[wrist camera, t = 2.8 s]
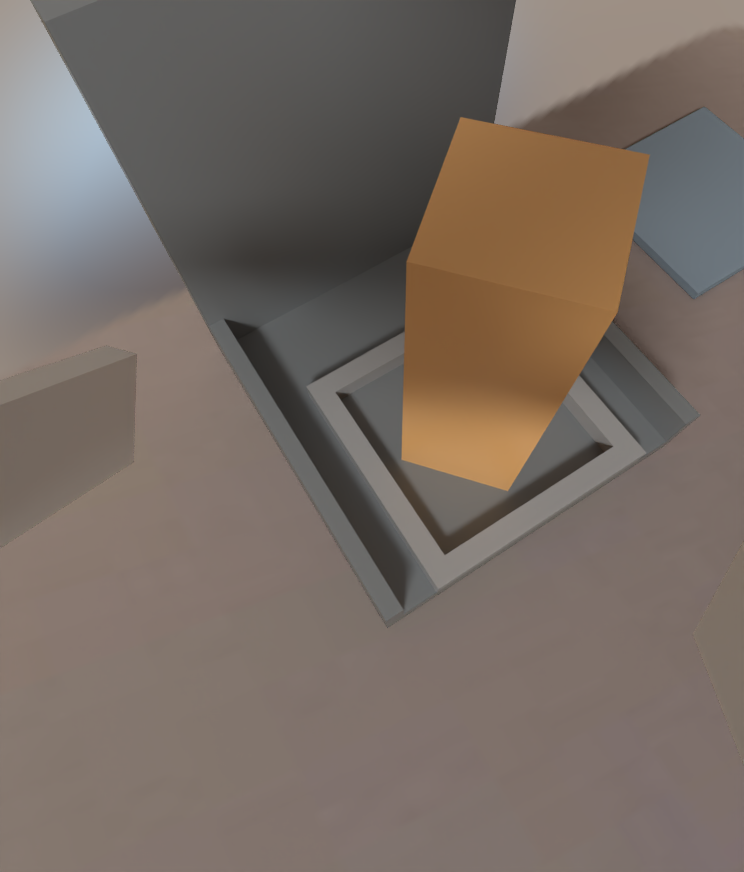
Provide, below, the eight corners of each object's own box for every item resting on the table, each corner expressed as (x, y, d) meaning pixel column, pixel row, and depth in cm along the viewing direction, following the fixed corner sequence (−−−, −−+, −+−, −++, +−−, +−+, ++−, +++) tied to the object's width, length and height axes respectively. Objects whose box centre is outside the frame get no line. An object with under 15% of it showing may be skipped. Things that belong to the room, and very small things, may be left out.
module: (532, 395, 28) (650, 154, 15) (507, 491, 26) (617, 312, 13) (431, 368, 29) (460, 116, 16) (401, 459, 27) (406, 261, 14)
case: (665, 444, 28) (1025, 139, 12) (387, 627, 26) (372, 549, 9) (454, 207, 34) (507, -208, 18) (211, 335, 32) (19, -19, 15)
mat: (826, 218, 33) (833, 211, 33) (693, 299, 31) (698, 293, 31) (700, 113, 36) (704, 106, 36) (573, 181, 35) (576, 175, 34)
